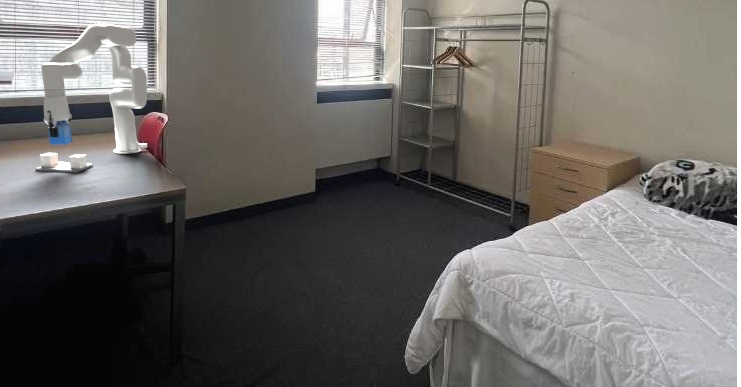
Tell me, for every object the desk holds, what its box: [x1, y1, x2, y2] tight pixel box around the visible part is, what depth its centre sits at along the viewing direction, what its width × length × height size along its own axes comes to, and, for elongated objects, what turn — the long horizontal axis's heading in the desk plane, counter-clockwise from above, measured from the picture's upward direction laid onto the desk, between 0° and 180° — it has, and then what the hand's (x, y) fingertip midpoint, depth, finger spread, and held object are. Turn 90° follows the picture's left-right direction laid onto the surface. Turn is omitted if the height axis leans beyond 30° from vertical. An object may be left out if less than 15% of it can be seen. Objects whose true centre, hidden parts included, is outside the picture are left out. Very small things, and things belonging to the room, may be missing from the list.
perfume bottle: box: [48, 121, 73, 146], centre depth 227 cm, size 6×6×12 cm
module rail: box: [34, 152, 94, 174], centre depth 231 cm, size 18×12×6 cm, turn 83°
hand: (60, 135), depth 228 cm, fingers closed on perfume bottle, 7 cm apart
